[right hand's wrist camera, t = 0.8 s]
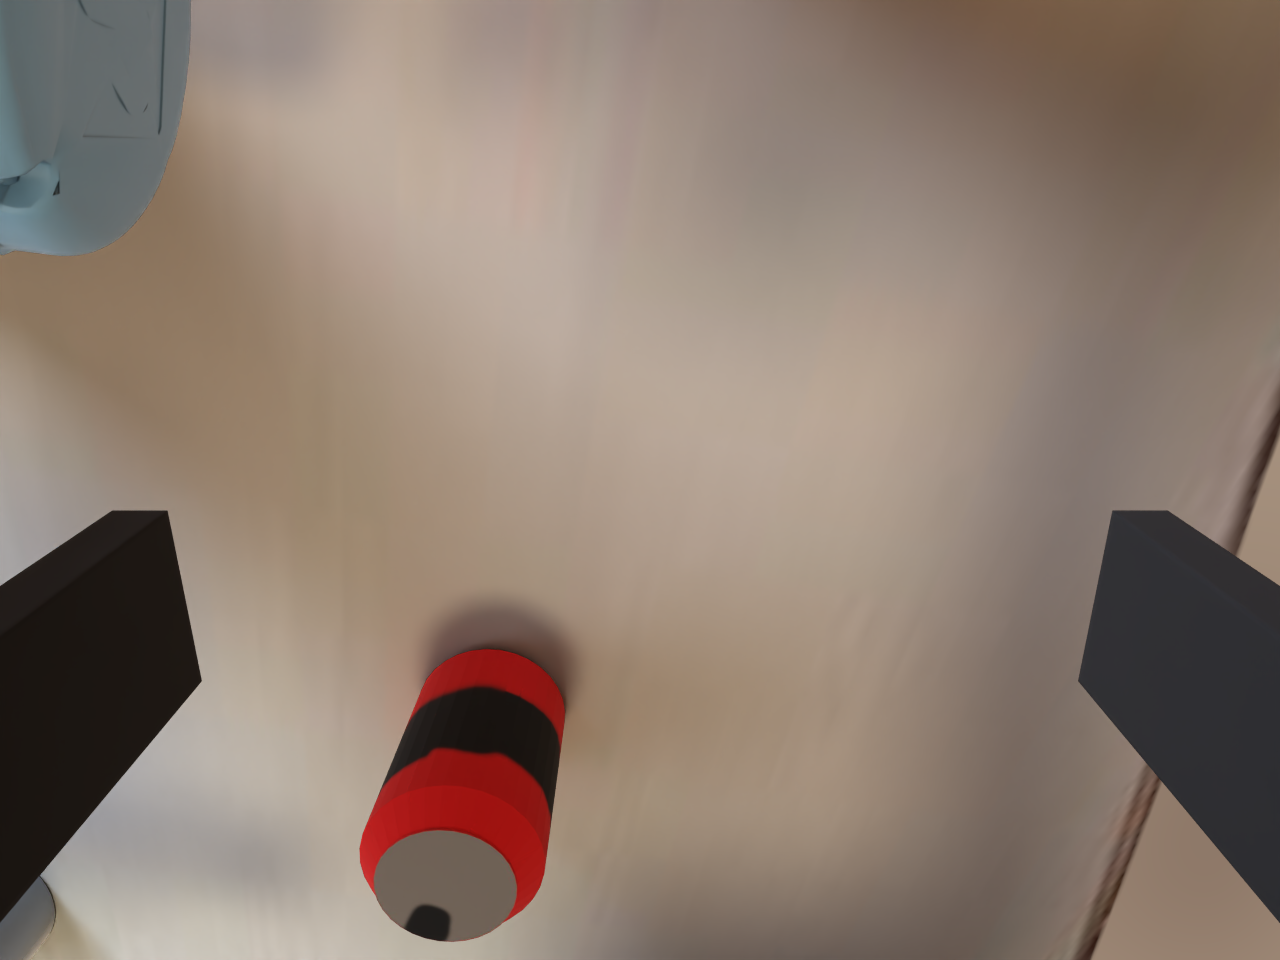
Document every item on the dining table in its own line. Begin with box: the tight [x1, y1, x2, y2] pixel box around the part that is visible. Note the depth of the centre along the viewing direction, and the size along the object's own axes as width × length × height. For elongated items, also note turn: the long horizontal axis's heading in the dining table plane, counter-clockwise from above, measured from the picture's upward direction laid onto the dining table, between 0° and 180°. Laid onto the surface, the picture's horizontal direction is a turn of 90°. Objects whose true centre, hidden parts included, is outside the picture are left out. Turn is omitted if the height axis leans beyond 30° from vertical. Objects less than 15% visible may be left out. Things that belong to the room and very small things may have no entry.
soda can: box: [360, 649, 565, 942], centre depth 40 cm, size 8×8×12 cm
